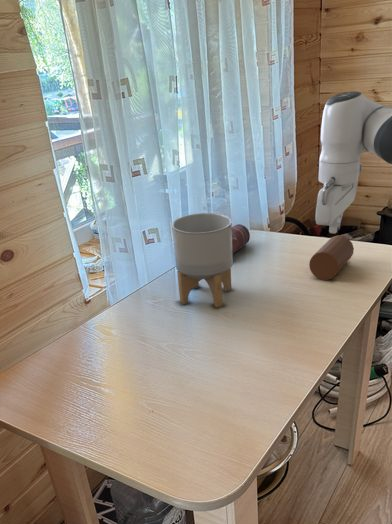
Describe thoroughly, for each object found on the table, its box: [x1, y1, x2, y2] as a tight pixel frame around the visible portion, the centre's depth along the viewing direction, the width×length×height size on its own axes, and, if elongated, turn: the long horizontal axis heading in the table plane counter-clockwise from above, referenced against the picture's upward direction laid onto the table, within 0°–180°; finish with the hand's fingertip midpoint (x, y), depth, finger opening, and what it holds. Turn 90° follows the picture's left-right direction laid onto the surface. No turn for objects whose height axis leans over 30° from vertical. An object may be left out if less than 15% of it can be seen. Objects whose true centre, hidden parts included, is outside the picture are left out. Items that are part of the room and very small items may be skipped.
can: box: [232, 223, 251, 255], centre depth 141 cm, size 6×6×14 cm
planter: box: [171, 212, 234, 308], centre depth 116 cm, size 13×13×18 cm
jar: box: [308, 235, 355, 281], centre depth 127 cm, size 7×7×12 cm
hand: (334, 231), depth 124 cm, fingers closed
